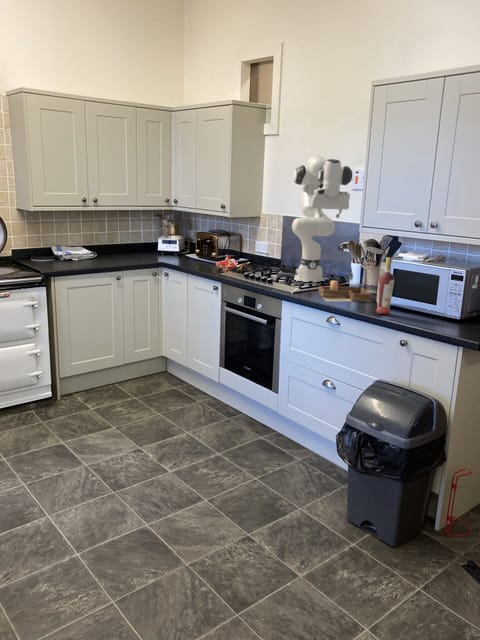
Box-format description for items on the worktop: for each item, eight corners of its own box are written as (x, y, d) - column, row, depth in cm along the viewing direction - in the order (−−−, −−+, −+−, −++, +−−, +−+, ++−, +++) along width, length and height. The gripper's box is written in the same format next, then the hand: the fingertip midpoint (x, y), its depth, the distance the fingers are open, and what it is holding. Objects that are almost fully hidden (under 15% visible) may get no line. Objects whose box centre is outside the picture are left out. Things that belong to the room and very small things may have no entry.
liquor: (383, 316, 261) (390, 259, 253) (371, 313, 266) (378, 257, 258) (393, 314, 265) (400, 258, 257) (381, 311, 270) (388, 256, 262)
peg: (328, 294, 296) (330, 280, 294) (335, 294, 296) (337, 280, 294) (330, 296, 292) (331, 282, 290) (337, 296, 292) (339, 282, 290)
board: (318, 295, 299) (318, 293, 298) (362, 295, 301) (362, 293, 301) (325, 302, 282) (325, 301, 282) (371, 303, 285) (372, 301, 284)
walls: (318, 293, 298) (319, 286, 297) (360, 293, 300) (361, 286, 299) (325, 301, 282) (326, 293, 281) (370, 301, 284) (371, 294, 283)
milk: (377, 301, 290) (381, 260, 284) (388, 302, 288) (393, 261, 282) (375, 303, 284) (380, 262, 278) (387, 305, 282) (392, 263, 276)
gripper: (348, 191, 289) (346, 217, 293) (311, 190, 288) (309, 216, 291) (351, 192, 283) (349, 218, 287) (313, 190, 281) (311, 217, 285)
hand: (328, 217), depth 289 cm, fingers open, 8 cm apart
